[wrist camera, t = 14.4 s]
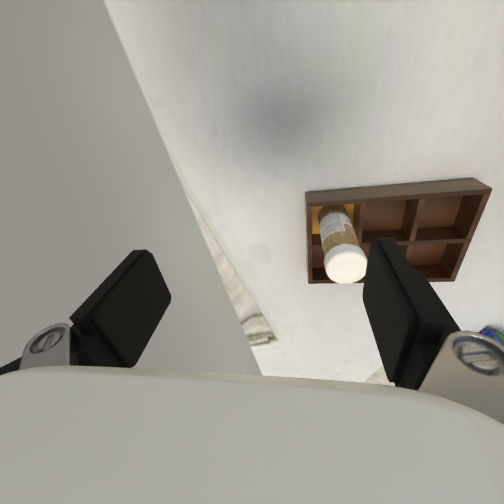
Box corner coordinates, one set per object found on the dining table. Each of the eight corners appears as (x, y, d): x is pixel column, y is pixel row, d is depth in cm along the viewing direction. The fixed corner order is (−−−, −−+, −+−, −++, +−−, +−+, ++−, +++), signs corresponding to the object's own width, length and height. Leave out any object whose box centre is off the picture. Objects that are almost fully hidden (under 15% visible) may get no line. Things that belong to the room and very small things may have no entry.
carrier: (305, 191, 37) (306, 202, 34) (472, 177, 33) (492, 188, 30) (307, 268, 45) (308, 283, 42) (441, 265, 41) (454, 281, 38)
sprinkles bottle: (350, 223, 38) (373, 280, 27) (321, 232, 40) (332, 289, 29) (342, 197, 36) (364, 248, 25) (312, 208, 38) (320, 260, 27)
